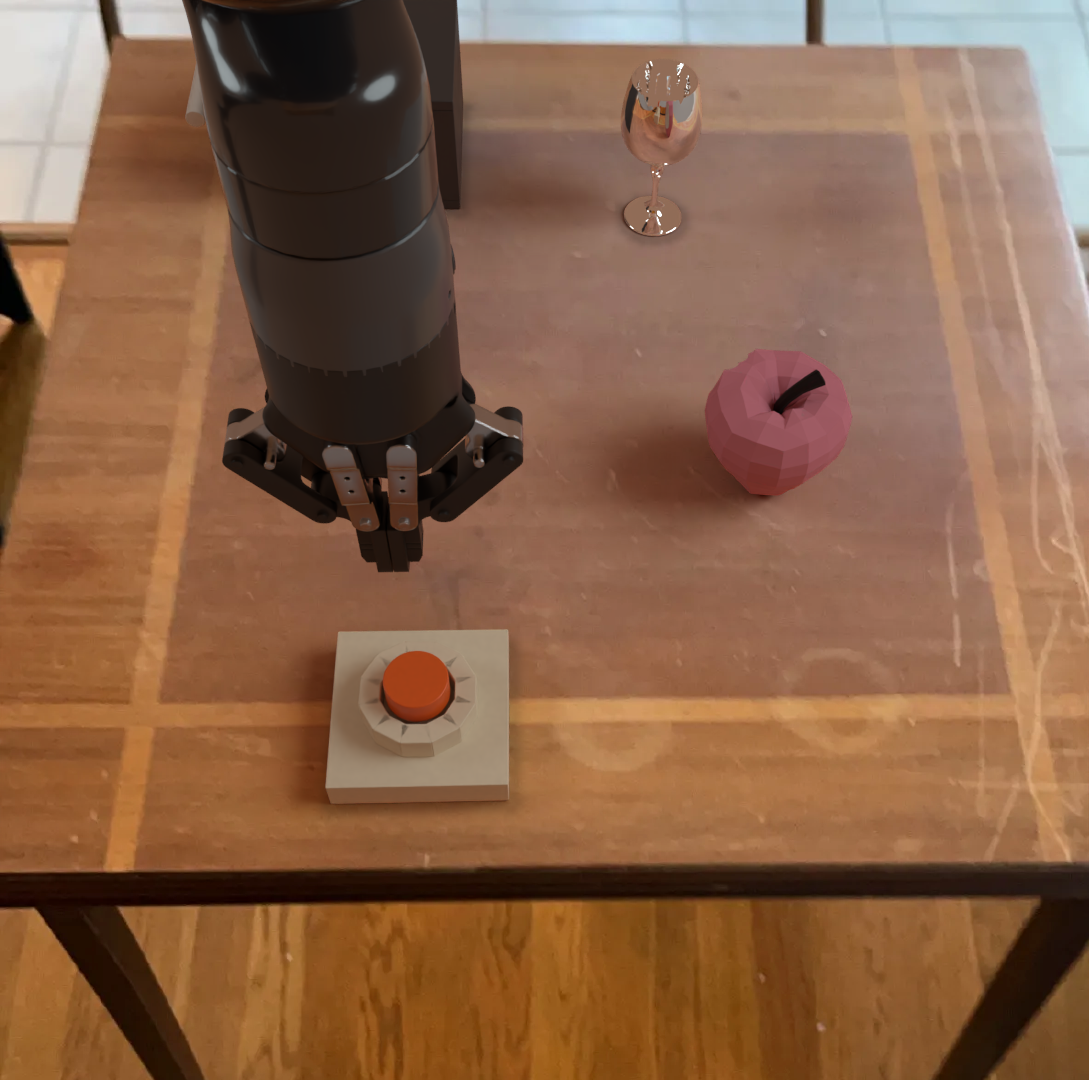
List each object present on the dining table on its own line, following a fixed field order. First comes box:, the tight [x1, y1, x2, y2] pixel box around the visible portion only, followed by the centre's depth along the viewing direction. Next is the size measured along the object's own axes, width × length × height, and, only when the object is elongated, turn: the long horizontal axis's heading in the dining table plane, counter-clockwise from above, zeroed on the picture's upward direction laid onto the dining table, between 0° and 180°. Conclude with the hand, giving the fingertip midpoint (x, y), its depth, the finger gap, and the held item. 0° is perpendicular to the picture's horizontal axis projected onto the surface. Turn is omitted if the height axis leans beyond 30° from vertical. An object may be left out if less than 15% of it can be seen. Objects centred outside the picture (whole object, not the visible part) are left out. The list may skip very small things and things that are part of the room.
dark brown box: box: [403, 0, 464, 210], centre depth 98 cm, size 15×13×10 cm
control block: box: [324, 628, 510, 805], centre depth 74 cm, size 10×10×4 cm
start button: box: [383, 651, 450, 722], centre depth 72 cm, size 4×4×2 cm
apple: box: [704, 348, 853, 497], centre depth 82 cm, size 10×9×10 cm
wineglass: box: [620, 58, 703, 237], centre depth 95 cm, size 6×6×12 cm
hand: (395, 556), depth 62 cm, fingers closed
